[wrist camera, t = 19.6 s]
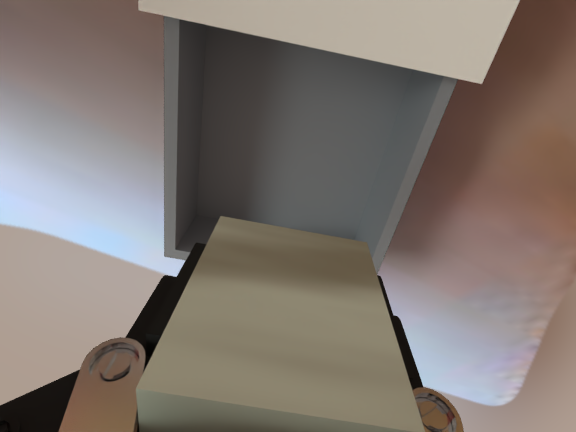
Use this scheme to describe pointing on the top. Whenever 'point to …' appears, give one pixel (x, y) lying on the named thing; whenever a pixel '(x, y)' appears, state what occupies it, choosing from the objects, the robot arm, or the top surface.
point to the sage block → (278, 341)
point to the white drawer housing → (367, 28)
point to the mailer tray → (289, 137)
